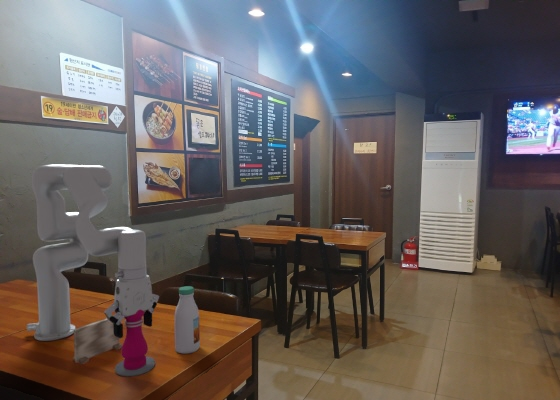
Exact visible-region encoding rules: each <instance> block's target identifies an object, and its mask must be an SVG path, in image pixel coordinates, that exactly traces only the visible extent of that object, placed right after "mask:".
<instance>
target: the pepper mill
mask: <svg viewBox="0 0 560 400" xmlns="http://www.w3.org/2000/svg"><path fill="white" fill-rule="evenodd" d="M144 313H145V311H143V310H138V311H137V312H136V314H134V315H131V316H128V317H124V318H123V319H125V320H124V326H125V327H126V333H125V338H124V341H123V344H121V345H122V348H121V351H120V354H121V356H122V358H123V360H122V361H123V366H124V368H125V369H128V370H135V369H139V368H141V367H143V366H145V364H146V355H147V353H148V351H149V350H148V343H147V340H146V339H145V337H144V335H143V330H142V329H143V328H142V326H143V325H144V318H143V315H144Z"/></svg>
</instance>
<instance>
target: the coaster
mask: <svg viewBox="0 0 560 400" xmlns="http://www.w3.org/2000/svg"><path fill="white" fill-rule="evenodd" d="M145 356H146V355H145ZM155 367H156V360H155V358H153V357H151V356H146V364H145V366H143V367H141V368H139V369H135V370H128V369H125V368H124V366H123V360H121V361H120V362H118V363H117V364H116V365H115V368H114V372H115V373H116V374H117V375H118V376H121V377H136V376H140V375H144V374H146V373H149V372H151V370H153V368H155Z"/></svg>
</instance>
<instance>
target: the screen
mask: <svg viewBox="0 0 560 400" xmlns="http://www.w3.org/2000/svg"><path fill="white" fill-rule="evenodd" d="M118 318H119V317H118ZM73 343H74V344H73V345H74V355H73V357H72V360H73V361H74V362H75V363H77V364H79V363H80V364H82V365H83V364H86V363H89V362H90V361H89V360H90V359H91V358H93V357H95V356H98V355H101V354H103V353H105V352H108V351H110V350H115V351H117V350H120V349H122V345H123V344H120V343H121V342H120V338H118V337H116V336H115V335H114V327H113V323H112V322H111V321H109V320H108V319H107V318H104V319H102V320H98V321H95V322H92V323H89V324H86V325H83V326H79V327H76V329H74V333H73Z"/></svg>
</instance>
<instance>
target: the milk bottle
mask: <svg viewBox="0 0 560 400" xmlns="http://www.w3.org/2000/svg"><path fill="white" fill-rule="evenodd" d="M194 292H195V288H194V287H193V286H191V285H188V286H181V287H179V288H178V293H179V294H178V295H179V300H178V303H177V305H176V308H175V310H174V350H175V351H176V353H179V354H183V355H184V354H185V355H186V354H192V353H195V352H197V351H198V350H199V349H200V346H201V345H200V344H201V342H200V341H201V339H200V337H201V336H200V335H201V334H200V313H199V308H198V305H197V304H196V300H195V299H194V294H195V293H194Z"/></svg>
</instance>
